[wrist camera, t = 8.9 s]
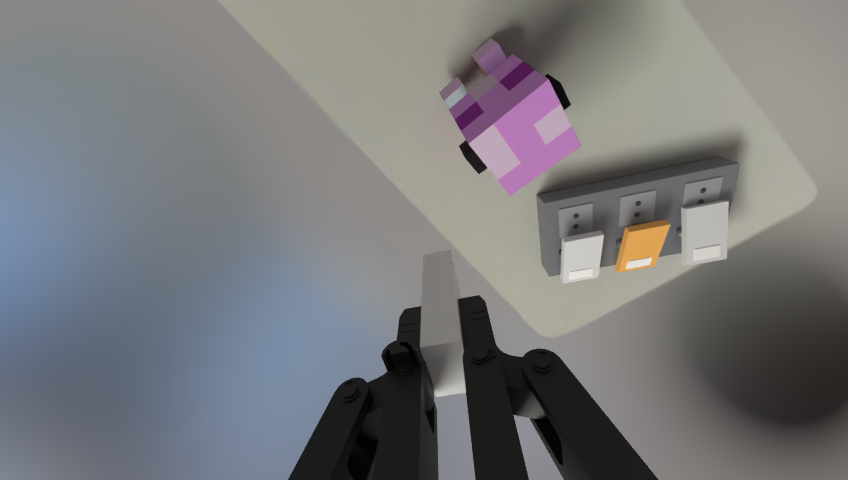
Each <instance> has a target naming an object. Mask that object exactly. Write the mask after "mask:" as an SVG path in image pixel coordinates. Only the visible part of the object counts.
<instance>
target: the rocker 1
mask: <svg viewBox="0 0 848 480" xmlns="http://www.w3.org/2000/svg"><path fill="white" fill-rule="evenodd" d="M603 239H604V234H603V233H602V231H601V230H600V231H595V232H589V233H584V234H579V235H574V236H569V237H563V238H562V251H561V275H560V279H561V281H562V283H568V282H574V281H580V280H585V279H591V278H597V277H598V274H599V267H600V260H601V253H602V246H603Z"/></svg>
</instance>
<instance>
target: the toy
mask: <svg viewBox="0 0 848 480" xmlns="http://www.w3.org/2000/svg"><path fill="white" fill-rule="evenodd" d="M472 56H473V58H474V59H475V61H476V63H477V64H478V66H479V67H480V69H481V70H482V72H483V74H484V75H485V76H486V78H485V79H483V80H482V81H481V82H480V83H479V84H478V85H477V86H475V87H474V88H473V89H472V90H471V91H470V92H468V90H467V89H466V88H465V86H464V85H463V83H462V82H461V81H460V79H459V78H458V77H456V78H455V79H454V80H453V81H452V82H451V83H449V84H448V85H447V86H446V87H445V88H444V89H443V90H442V91H441V92H440V95H441V96H442V98H443V100H444V101H445V103H446V104H447V105H448V107H449V108H450V109H449V111H450V112H451V114H452V116H453V118H454V119H455V121H456V123H457V125H458V126H459V128H460V130H461V132H462V133H463V135H464V137H465V139H466V141H464V142H463V143H462V144H461V145H459V147H460V149H461V151H462V153H463V155H464V157H465V158H466V160H467V161H468V162H469V163H470V164H471V165H472V167H473V168H474V169H475V170H476V171H477V173H478V174H480V173H481V172H483V171H484V170H485V169H487V168H488V169H489V170H490V171H491V172H492V174H493V175H494V176H495V177H496V179H497V180H498V181H499V182H500V184H501V185H502V186H503V187H504V189H505V190H506V191H507V192H508V194H509V195H512V194H513V193H515V192H516V191H518V190H519V189H520V188H522V187H523V186H525V185H526V184H528V183H529V182H530V181H532V180H533V179H535V178H536V177H538V176H539V175H540V174H542V173H543V172H545V171H546V170H548V169H549V168H550V167H552V166H553V165H555V164H556V163H558V162H559V161H560V160H562V159H563V158H565V157H566V156H568V155H569V154H571V153H572V152H573V151H575V150H576V149H578V148H579V147H581V144H580V141H579V139H578V137H577V135H576V133H575V131H574V129H573V127H572V125H571V123H570V121H569V119H568V117H567V115H566V113H565V111H564V110H565V109H566V108H567V107H569V106H570V105H571V104H570V102H569V100H568V98H567V95H566V93H565V91H564V89H563V87H562V85H561V83H560V82H559V81H557V80H556V79H554V78H553V77H551V76H550V75H548V74H547V75H546V76H543V75H542V74H541V73H539V72H538V71H536V70H535V69H534V68H532V67H531V66H529V65H528V64H527V63H525V62H524V61H522V60H521V59H520V58H518V57H517V56H515V55H514V54H512V55H511V56H510V57H509V58H508V59H507V58H506V56H505V54H504V52H503V51H502V49H501V47H500V45H499V44H498V43H497V42H496V41H494V40H493V39H492V38H490V39H489V40H488V41H487V42H486V43H485V44H484V45H483V46H481V47H480V48H479V49H478V50H477V51H476V52H475V53H474V54H473V55H472Z"/></svg>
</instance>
